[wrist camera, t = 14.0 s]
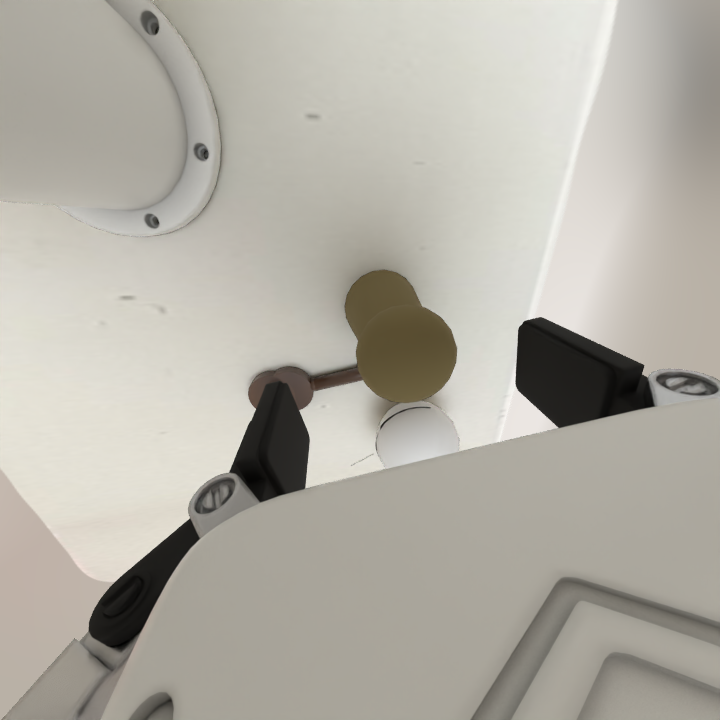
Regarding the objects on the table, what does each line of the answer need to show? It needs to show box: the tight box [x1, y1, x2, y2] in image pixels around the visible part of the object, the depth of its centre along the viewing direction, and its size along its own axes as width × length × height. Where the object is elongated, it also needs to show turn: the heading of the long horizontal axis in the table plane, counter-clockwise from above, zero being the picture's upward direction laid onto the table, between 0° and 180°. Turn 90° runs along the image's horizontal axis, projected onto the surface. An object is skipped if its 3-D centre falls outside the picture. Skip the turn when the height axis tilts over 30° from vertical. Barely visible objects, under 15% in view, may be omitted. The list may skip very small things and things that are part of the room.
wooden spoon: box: [248, 367, 363, 410], centre depth 25 cm, size 16×4×1 cm, turn 103°
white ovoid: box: [351, 401, 460, 469], centre depth 25 cm, size 10×7×7 cm
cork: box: [345, 270, 457, 403], centre depth 18 cm, size 6×6×11 cm
